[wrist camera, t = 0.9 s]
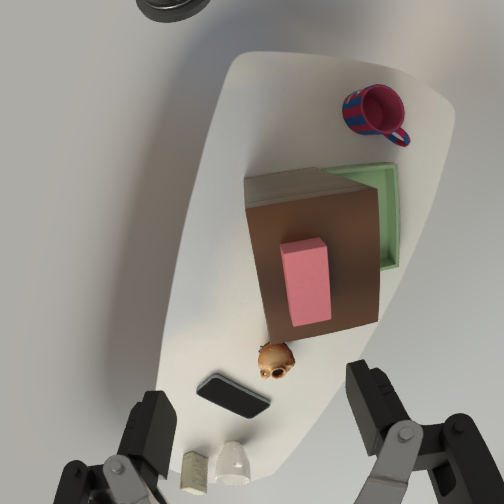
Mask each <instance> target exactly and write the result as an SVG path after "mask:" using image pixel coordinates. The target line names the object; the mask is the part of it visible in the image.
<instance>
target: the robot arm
mask: <svg viewBox="0 0 504 504" xmlns="http://www.w3.org/2000/svg"><path fill="white" fill-rule="evenodd" d="M192 1H194V0H144V2H145V3H146V4H147V5H148V6H149V7H150V8H152V9H155V10H160V11H168V10H174V9H178V8H181V7H183V6H186V5H188V4H189V3H191V2H192ZM346 394H347V398H348V401H349V404H350V406H351V409H352V412H353V414H354V417H355V420H356V422H357V425H358V428H359V430H360V433H361V436H362V439H363V442H364V445H365V448H366V451H367V454H368V456H372V455H375V454H376V456H377V460H376V462H375V465H374V467H373V469H372V471H371V473H370V475H369V476H368V478H367V480H366V482H365V484H364V486H363V488H362V490H361V492H360V493H359V495H358V497H357V499H356V501H355V502H354V504H401V502H402V499H403V497H404V495H405V492H406V490H407V487H408V480H409V477H410V475H411V472H412V471H419V470H426V469H427V471H428V474H429V477H430V480H431V483H432V486H433V489H434V492H435V495H436V498H437V501H438V504H504V482H503V479H502V477H501V474H500V472H499V470H498V468H497V466H496V464H495V462H494V460H493V457H492V455H491V453H490V451H489V449H488V447H487V445H486V443H485V441H484V440H483V438H482V436H481V434H480V432H479V430H478V428H477V426H476V425H475V423H474V421H473V420H472V418H471V417H470V416H468V415H466V414H463V413H458V414H454V415H452V416H450V417H449V418H448V419H447V420H446V421H445V423H441V424H434V425H420V424H418V423H416V422H415V421H412V420H411V419H410V418H409V416H408V414H407V412H406V410H405V409H404V407H403V405H402V403H401V401H400V399H399V397H398V395H397V394H396V392H395V391H394V388H393V386H392V385H391V382H390V380H389V379H388V377H387V375H386V374H385V373H384V372H383V371H381V370H380V369H379V368H374V369H370V370H369V368H368V366H367V364H366V362H365V360H363V359H362V360H359V361H355V362H351V363H348V364H347V365H346ZM176 424H177V416H176V412H175V410H174V408H173V406H172V405H171V403H170V401H169V400H168V398H167V396H166V394H165V393H164V391H162V390H161V391H147V392H145V394H144V397H143V400H142V402H137V404H136V405H135V406H134V407H133V408H132V410H131V412H130V415H129V418H128V421H127V424H126V428H125V430H124V433H123V436H122V439H121V442H120V446H119V449H118V452H117V454H116V455H113V456H111V457H109V458H108V459H107V460H106V461H105V463H104V464H102V465H95V466H86V464H84V463H83V462H82V461H79V460H74V461H71V462H69V463H68V464H67V465H66V466H65V467H64V469H63V472H62V475H61V479H60V482H59V485H58V489H57V492H56V495H55V499H54V503H53V504H170V503H169V502H168V501H167V499H166V498H165V496H164V495H163V493H162V492H161V490H160V489H159V487H158V486H157V482H158V479H160V480H167V475H168V469H169V463H170V457H171V452H172V446H173V440H174V435H175V430H176ZM89 498H90V499H89ZM88 502H89V503H88Z"/></svg>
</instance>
